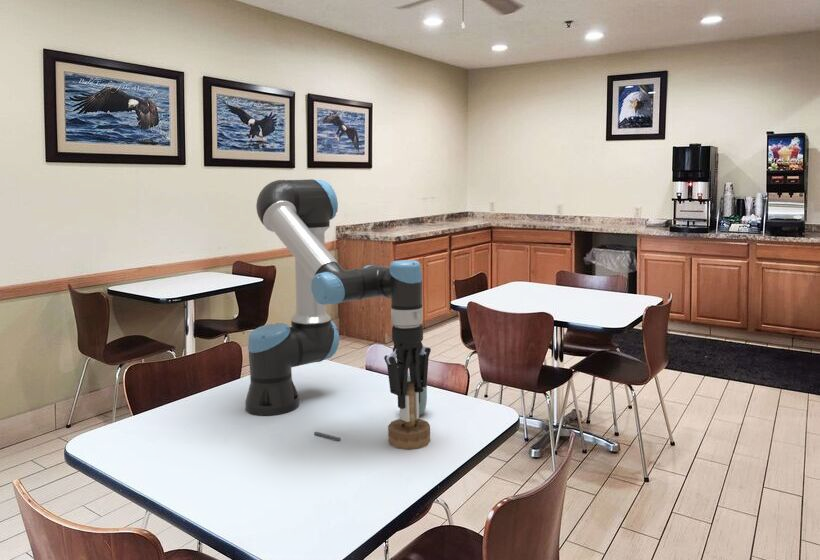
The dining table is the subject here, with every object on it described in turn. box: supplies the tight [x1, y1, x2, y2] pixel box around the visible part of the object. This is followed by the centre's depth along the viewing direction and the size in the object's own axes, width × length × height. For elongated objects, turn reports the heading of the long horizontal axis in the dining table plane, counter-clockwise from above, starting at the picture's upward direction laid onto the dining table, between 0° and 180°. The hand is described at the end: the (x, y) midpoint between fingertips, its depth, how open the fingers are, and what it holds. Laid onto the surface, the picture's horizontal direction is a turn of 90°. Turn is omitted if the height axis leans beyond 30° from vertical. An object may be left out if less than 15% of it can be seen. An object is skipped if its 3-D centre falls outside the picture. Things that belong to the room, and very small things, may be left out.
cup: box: [407, 374, 428, 416], centre depth 172 cm, size 8×8×10 cm
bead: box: [387, 418, 431, 450], centre depth 154 cm, size 10×10×4 cm
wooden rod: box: [405, 381, 415, 429], centre depth 154 cm, size 2×2×15 cm
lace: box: [313, 431, 341, 442], centre depth 158 cm, size 8×1×1 cm, turn 57°
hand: (409, 418), depth 154 cm, fingers closed on wooden rod, 2 cm apart
